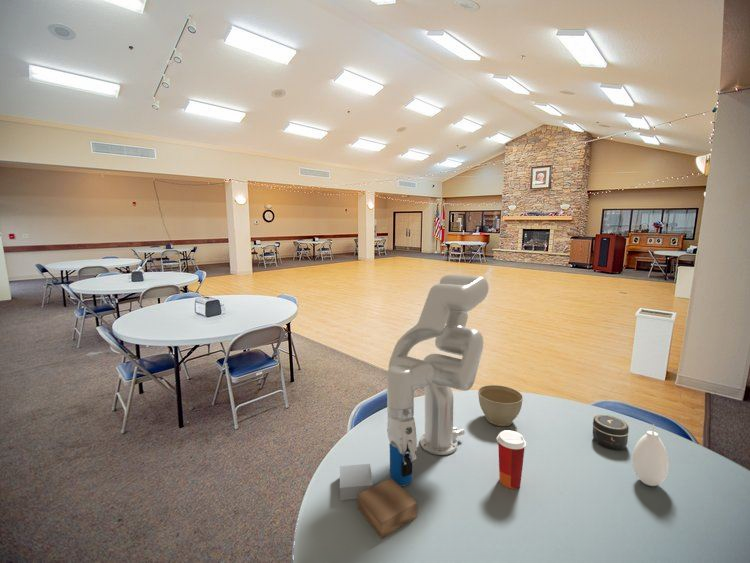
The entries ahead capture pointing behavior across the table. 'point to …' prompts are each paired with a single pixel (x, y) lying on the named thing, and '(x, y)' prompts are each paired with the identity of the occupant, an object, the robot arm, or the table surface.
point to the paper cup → (510, 458)
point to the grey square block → (354, 480)
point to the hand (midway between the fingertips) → (400, 466)
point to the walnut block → (387, 506)
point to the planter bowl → (500, 404)
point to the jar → (610, 432)
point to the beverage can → (398, 466)
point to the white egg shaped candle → (650, 459)
